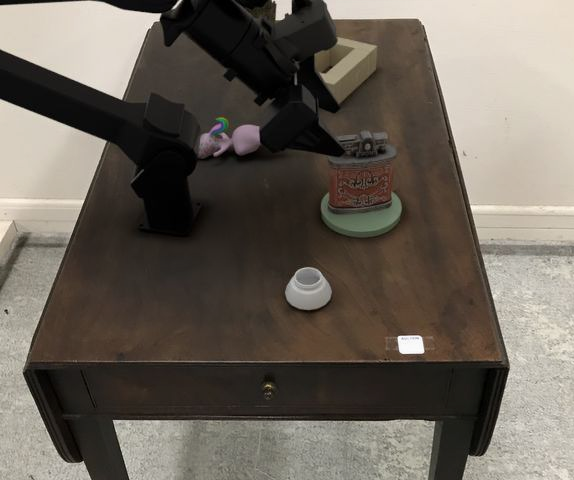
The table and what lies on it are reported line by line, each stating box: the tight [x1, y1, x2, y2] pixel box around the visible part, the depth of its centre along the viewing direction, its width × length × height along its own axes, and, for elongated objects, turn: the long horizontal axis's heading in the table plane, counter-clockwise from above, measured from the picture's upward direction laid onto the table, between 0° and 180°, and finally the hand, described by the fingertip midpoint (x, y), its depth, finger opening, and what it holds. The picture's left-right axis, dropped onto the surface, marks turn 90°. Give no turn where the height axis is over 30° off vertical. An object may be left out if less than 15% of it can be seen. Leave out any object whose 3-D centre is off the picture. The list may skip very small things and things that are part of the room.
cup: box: [243, 0, 278, 24], centre depth 116 cm, size 8×7×8 cm
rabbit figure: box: [198, 116, 263, 160], centre depth 95 cm, size 6×6×15 cm
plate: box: [320, 191, 403, 238], centre depth 87 cm, size 10×10×1 cm
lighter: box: [327, 129, 397, 215], centre depth 83 cm, size 8×3×10 cm, turn 98°
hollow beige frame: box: [315, 36, 378, 105], centre depth 109 cm, size 14×11×4 cm
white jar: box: [284, 266, 333, 311], centre depth 76 cm, size 5×3×5 cm
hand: (340, 131), depth 79 cm, fingers open, 9 cm apart
